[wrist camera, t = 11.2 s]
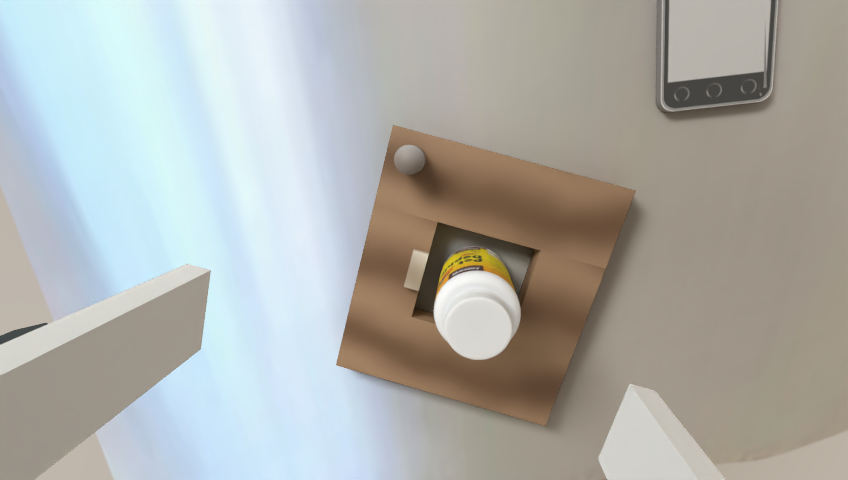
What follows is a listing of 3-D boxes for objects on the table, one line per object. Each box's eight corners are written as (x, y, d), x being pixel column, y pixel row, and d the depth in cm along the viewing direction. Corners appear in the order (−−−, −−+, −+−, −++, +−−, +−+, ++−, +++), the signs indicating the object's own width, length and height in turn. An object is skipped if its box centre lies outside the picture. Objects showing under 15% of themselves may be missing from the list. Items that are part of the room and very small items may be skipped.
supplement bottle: (482, 230, 33) (491, 265, 23) (521, 285, 33) (546, 341, 23) (426, 269, 34) (411, 317, 24) (465, 321, 34) (466, 389, 24)
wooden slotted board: (397, 126, 32) (387, 122, 27) (624, 188, 31) (650, 194, 27) (342, 353, 36) (326, 380, 32) (540, 410, 35) (551, 446, 31)
